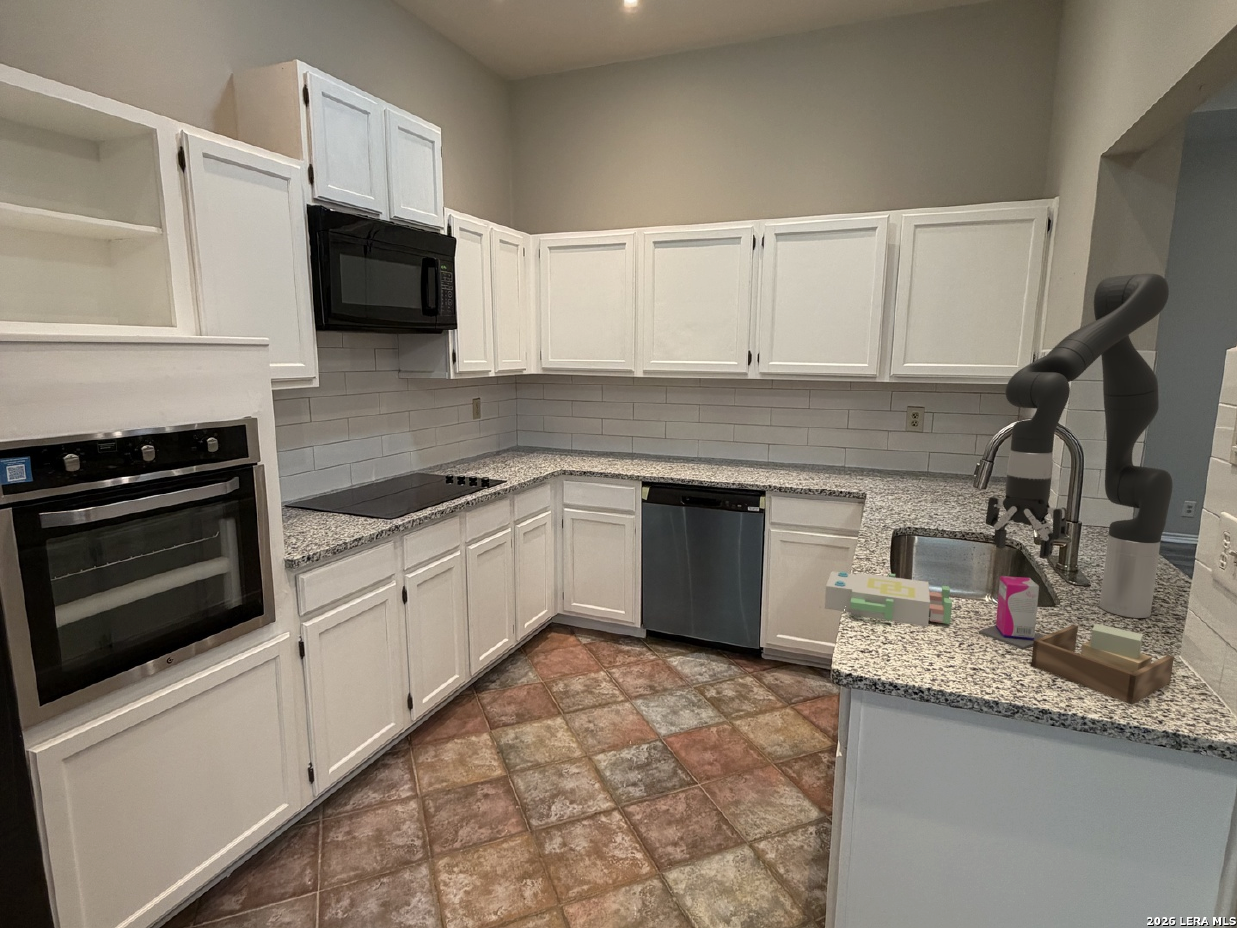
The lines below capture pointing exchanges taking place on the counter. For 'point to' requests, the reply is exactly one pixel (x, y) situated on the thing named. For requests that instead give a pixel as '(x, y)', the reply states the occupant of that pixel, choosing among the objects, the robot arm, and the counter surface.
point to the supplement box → (1017, 607)
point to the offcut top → (1116, 641)
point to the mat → (1019, 643)
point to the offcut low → (1116, 658)
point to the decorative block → (887, 598)
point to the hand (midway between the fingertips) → (1021, 552)
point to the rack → (1098, 668)
